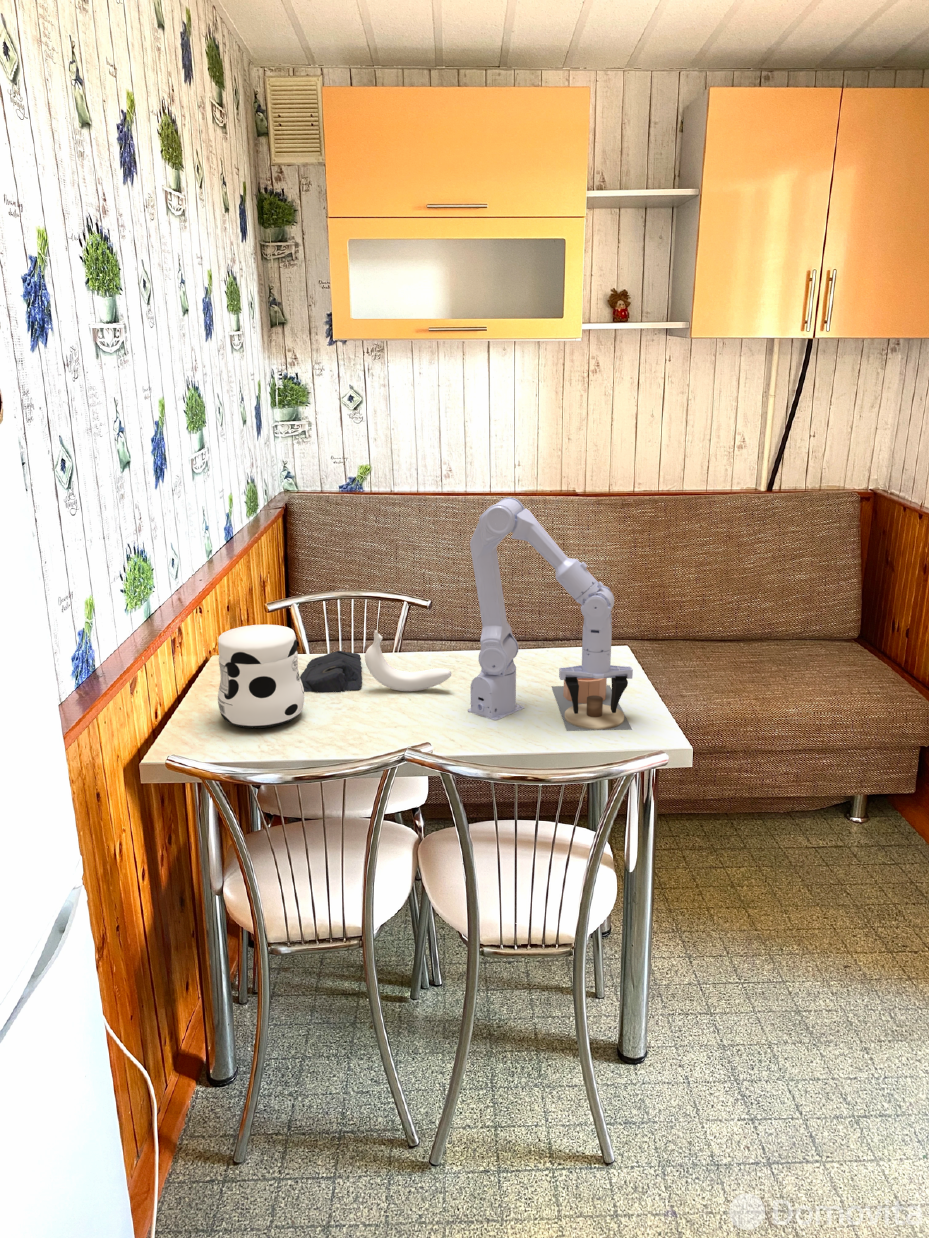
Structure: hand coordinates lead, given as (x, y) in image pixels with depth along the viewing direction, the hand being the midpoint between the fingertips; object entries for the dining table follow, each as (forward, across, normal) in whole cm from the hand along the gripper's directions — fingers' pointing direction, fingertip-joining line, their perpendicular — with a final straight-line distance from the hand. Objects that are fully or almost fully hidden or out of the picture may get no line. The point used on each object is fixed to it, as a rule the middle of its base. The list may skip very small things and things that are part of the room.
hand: (594, 711), depth 189 cm
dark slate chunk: (+2, -56, +29) cm, 63 cm away
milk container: (+2, -68, +4) cm, 68 cm away
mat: (+2, 0, +6) cm, 6 cm away
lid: (+1, 0, 0) cm, 1 cm away
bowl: (+1, 0, +12) cm, 12 cm away
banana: (+2, -38, +18) cm, 42 cm away
